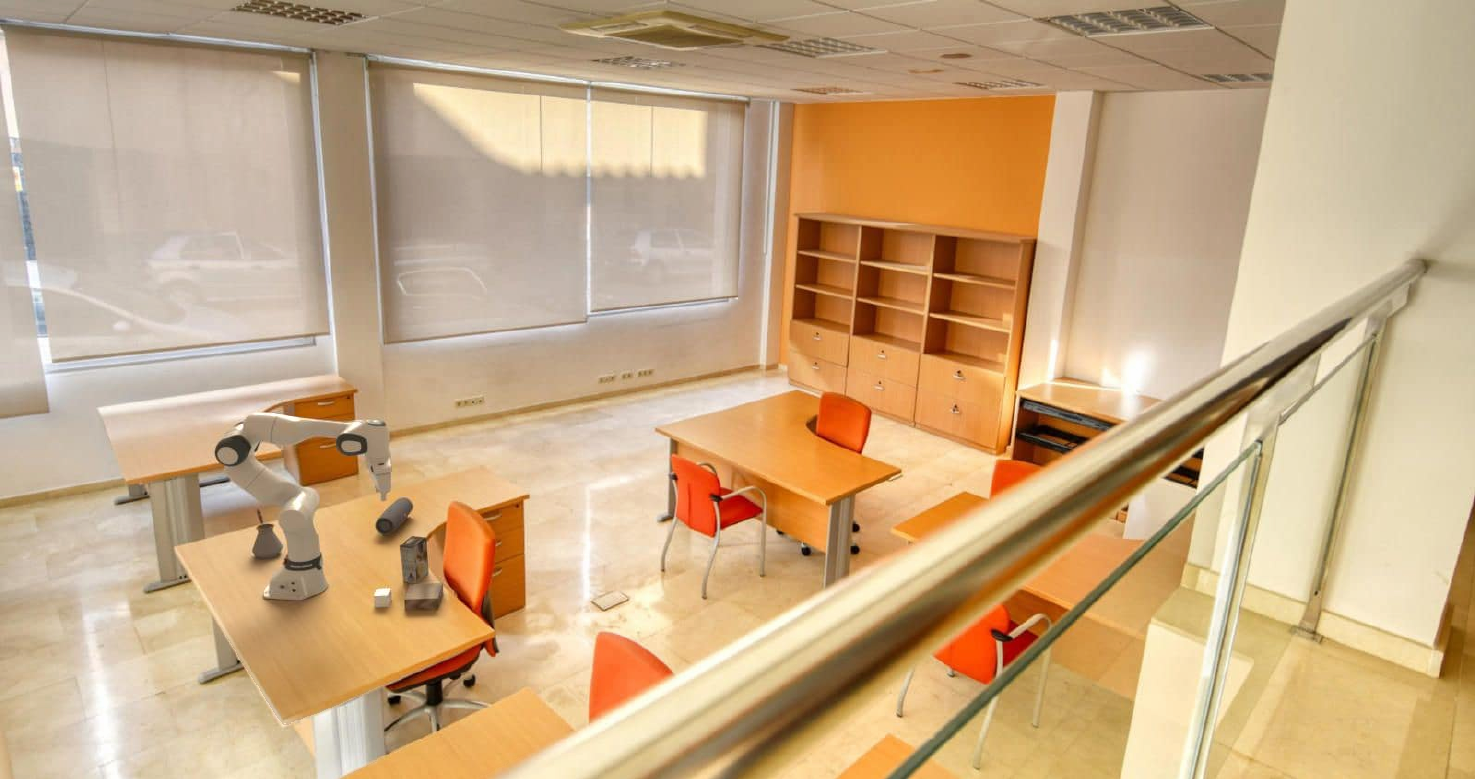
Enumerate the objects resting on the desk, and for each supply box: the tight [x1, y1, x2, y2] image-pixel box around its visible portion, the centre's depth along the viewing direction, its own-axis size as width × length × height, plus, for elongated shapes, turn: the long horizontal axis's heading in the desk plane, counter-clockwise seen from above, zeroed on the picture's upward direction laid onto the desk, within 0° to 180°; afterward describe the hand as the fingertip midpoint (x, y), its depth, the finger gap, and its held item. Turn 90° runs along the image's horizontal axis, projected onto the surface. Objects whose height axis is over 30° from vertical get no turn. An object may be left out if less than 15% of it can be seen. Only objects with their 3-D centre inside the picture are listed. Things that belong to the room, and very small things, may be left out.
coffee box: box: [399, 535, 429, 584], centre depth 350 cm, size 9×6×16 cm
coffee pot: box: [251, 508, 284, 560], centre depth 367 cm, size 21×12×15 cm, turn 37°
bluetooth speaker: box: [374, 496, 414, 536], centre depth 394 cm, size 23×9×10 cm, turn 179°
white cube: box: [373, 588, 393, 608], centre depth 331 cm, size 5×5×5 cm
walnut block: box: [403, 582, 444, 612], centre depth 333 cm, size 12×12×5 cm
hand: (381, 496), depth 330 cm, fingers open, 8 cm apart
